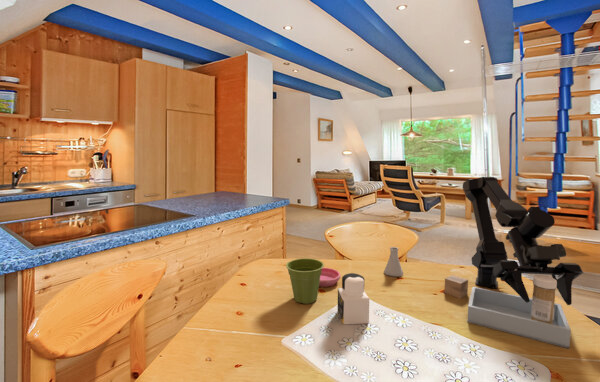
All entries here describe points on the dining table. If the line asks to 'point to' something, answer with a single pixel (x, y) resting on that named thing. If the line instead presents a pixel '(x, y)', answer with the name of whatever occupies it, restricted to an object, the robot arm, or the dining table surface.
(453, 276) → the walnut cube
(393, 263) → the flask
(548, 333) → the tray
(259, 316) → the dining table surface
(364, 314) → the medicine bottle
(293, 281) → the plant pot
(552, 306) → the sprinkles bottle
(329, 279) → the saucer
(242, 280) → the dining table surface
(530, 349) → the dining table surface
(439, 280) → the dining table surface
